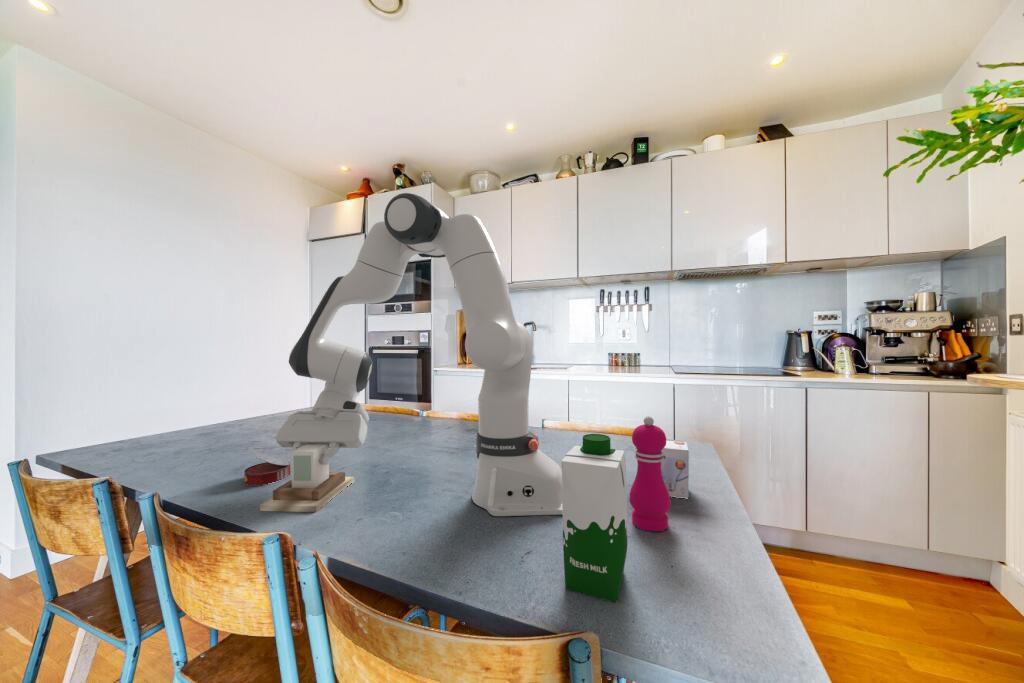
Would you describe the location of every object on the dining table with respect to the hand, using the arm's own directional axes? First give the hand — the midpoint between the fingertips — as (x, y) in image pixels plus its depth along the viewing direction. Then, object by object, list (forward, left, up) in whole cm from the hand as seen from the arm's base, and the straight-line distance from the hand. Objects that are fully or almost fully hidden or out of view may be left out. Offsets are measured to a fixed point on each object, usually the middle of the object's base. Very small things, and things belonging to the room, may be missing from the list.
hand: (309, 463), depth 83 cm
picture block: (0, -1, -5) cm, 5 cm away
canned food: (+19, -9, -8) cm, 22 cm away
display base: (0, -1, -7) cm, 7 cm away
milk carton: (-61, +20, -8) cm, 65 cm away
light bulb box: (-78, -14, -8) cm, 80 cm away
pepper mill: (-72, +2, -8) cm, 73 cm away
